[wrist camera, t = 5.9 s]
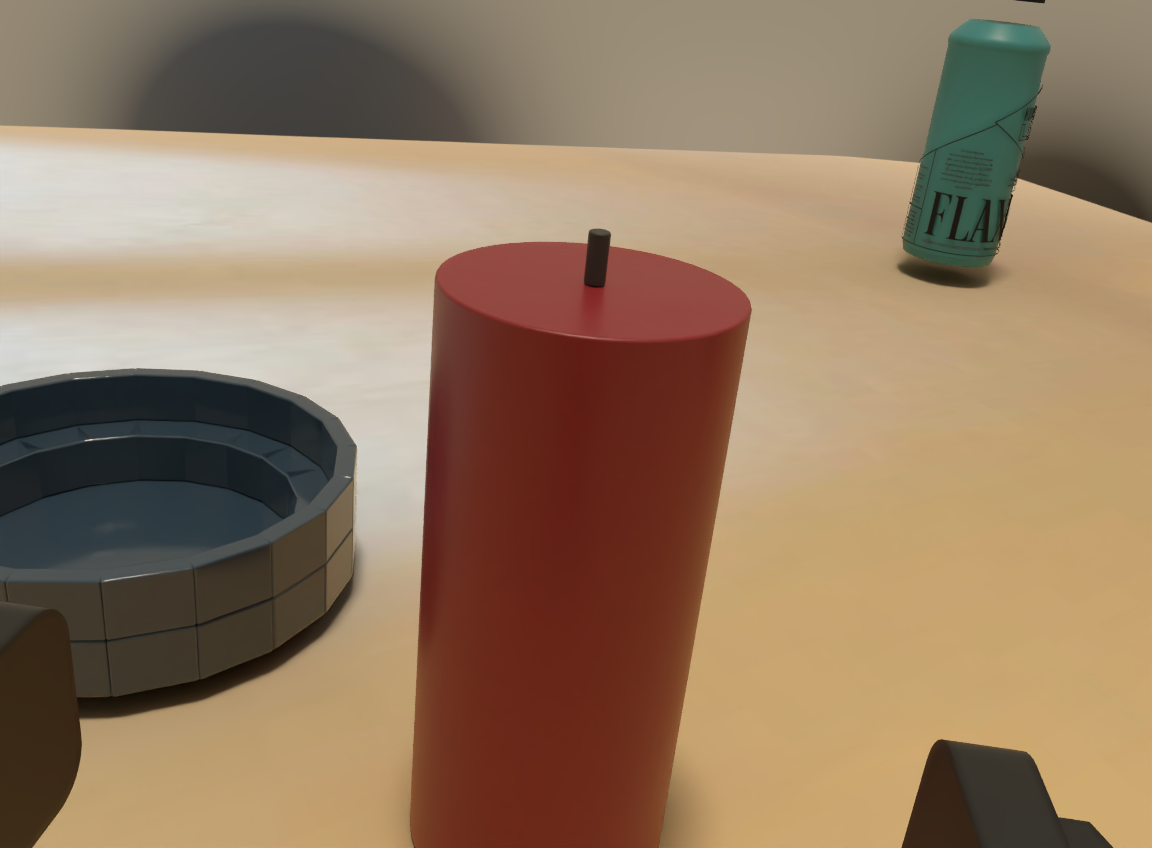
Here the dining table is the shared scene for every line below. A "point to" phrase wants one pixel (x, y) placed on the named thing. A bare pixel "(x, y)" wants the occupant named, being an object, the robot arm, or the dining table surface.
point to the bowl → (172, 518)
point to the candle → (565, 537)
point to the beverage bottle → (975, 141)
